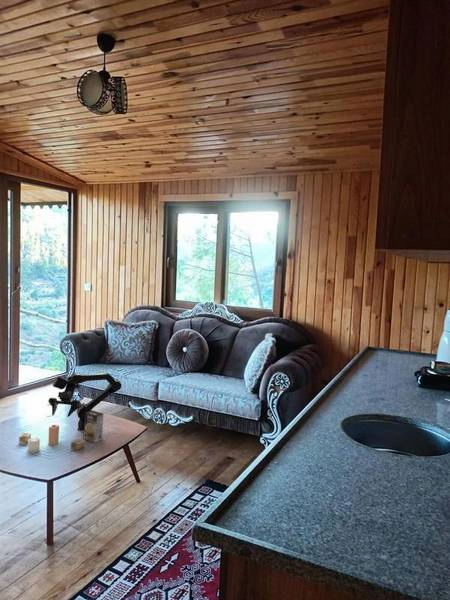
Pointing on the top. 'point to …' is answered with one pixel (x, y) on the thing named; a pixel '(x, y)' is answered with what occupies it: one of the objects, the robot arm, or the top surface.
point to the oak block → (24, 438)
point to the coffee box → (93, 426)
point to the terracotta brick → (53, 435)
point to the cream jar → (33, 445)
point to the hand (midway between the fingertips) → (60, 416)
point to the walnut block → (77, 445)
